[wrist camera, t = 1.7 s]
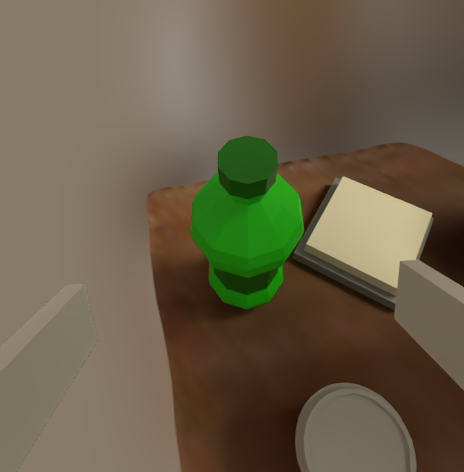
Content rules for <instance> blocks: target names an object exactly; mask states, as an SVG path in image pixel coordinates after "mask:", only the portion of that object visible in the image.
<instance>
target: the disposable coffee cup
mask: <svg viewBox="0 0 464 472" xmlns="http://www.w3.org/2000/svg"><path fill="white" fill-rule="evenodd" d="M295 448H296V455H297V461H298V464H299V467H300V470H301V472H416V455H415V450H414V446H413V442H412V439H411V437H410V435H409V433H408V430H407V428H406V426H405V424H404V423H403V421H402V419H401V417H400V416H399V414H398V413H397V412H396V411H395V409H394V408H393V407H392V406H391V405H390V404H389V403H388V402H387V401H386V400H385V399H384V398H383V397H382V396H380V395H379V394H377V393H375V392H374V391H372V390H371V389H369V388H366V387H363V386H361V385H358V384H352V383H335V384H331V385H328V386H326V387H324V388H322V389H320V390H319V391H317V392H316V393H315V394H314V395H312V396H311V397H310V399H309V400H308V401H307V402H306V403H305V405H304V407H303V409H302V411H301V413H300V415H299V417H298V419H297V423H296V432H295Z"/></svg>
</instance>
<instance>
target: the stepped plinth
mask: <svg viewBox="0 0 464 472" xmlns="http://www.w3.org/2000/svg"><path fill="white" fill-rule="evenodd" d="M431 216H432V213H430V212H428V211H426V210H423V209H421V208H418V207H416V206H414V205H411V204H409V203H406V202H404V201H402V200H399V199H397V198H394V197H392V196H389V195H387V194H385V193H382V192H380V191H377V190H375V189H373V188H370V187H368V186H365V185H363V184H361V183H358V182H356V181H353V180H351V179H349V178H346V177H344V176H343V178H342V179H339V178H335V180H334V182H333V184H332V185H331V187H330V189H329V191H328V193H327V194H326V196H325V198H324V200H323V202H322V203H321V205H320V207H319V209H318V210H317V212H316V214H315V216H314V218H313V219H312V221H311V223H310V225H309V227H308V228H307V230H306V232H305V234H304V235H303V237H302V239H301V241H300V243H299V244H298V246H297V248H296V250H295V252H294V254H293V257H292V259H294V260H296V261H298V262H300V263H302V264H304V265H306V266H308V267H310V268H312V269H314V270H316V271H318V272H320V273H322V274H324V275H326V276H327V277H329V278H331V279H333V280H335V281H337V282H339V283H341V284H343V285H345V286H347V287H349V288H351V289H353V290H355V291H357V292H359V293H361V294H363V295H365V296H367V297H369V298H370V299H372V300H374V301H376V302H378V303H380V304H382V305H384V306H386V307H388V308H390V309H392V310H394V311H395V304H396V295H397V285H398V275H399V265H400V261H406V260H419V259H420V256H421V253H422V251H423V248H424V245H425V242H426V239H427V237H428V234H429V231H430V228H431V226H432V223H433V220H434V218H432V217H431Z"/></svg>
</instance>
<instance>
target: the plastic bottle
mask: <svg viewBox="0 0 464 472" xmlns="http://www.w3.org/2000/svg"><path fill="white" fill-rule="evenodd" d="M277 169H278V161H277V151H276V150H275V149H274V148H273V147H272V146H271V145H270V144H269V143H268V142H267V141H266V140H265V139H260V138H255V137H250V136H244V137H240V138H236V139H233V140H229V141H228V142H227V143H226V144H225V145H224V146H223V147H222V149H221V150H220V151H219V152H218V173H216V174H214V176H213V177H212V178H211V179H210V180H209V181H208V182H207V183H206V184H205V185H204V186H203V187H202V189H201V190H200V191H199V192H198V193H197V194H196V195H195V197H194V199H193V202H192V216H191V231H190V233H191V236H192V239H193V241H194V242H195V243H196V245H197V246H198V247H199V249H200V250H201V251H202V253H203V254H204V255H205V257H206V258H207V259H208V260H209V283H210V285H211V286H212V288H213V289H214V290H215V292H216V293H217V295H218V296H219V297H220V299H221V300H222V301H223V303H227V304H230V305H233V306H237V307H240V308H243V309H246V310H247V309H250V308H253V307H256V306H259V305H262V304H265V303H267V302H270V300H271V299H272V297H273V296H274V294H275V293H276V291H277V290H278V288H279V287H280V285H281V284H282V282H283V269H282V265H283V264H284V262H285V261H286V260H287V258H288V257H289V255H290V254H291V252H292V251H293V249H294V248H295V246H296V245H297V244H298V242H299V241H300V239H301V238H302V235H303V233H304V225H303V217H302V209H301V202H300V198H299V195H298V193H297V192H296V191H295V190H294V189H293V188H292V187H291V186H290V185H289V184H288V183H287V182H286V181H285V180H284V179H283V178H282V177H281V176H279V175H278V174H277Z"/></svg>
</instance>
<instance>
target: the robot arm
mask: <svg viewBox="0 0 464 472" xmlns="http://www.w3.org/2000/svg"><path fill="white" fill-rule="evenodd" d="M394 319H395V320H396V321H397V322H398V323H399V324H400V325H401V326H402V327H403V328H404V329H405V330H406V331H407V332H408V334H409V335H410V336H411V337H412V338H413V339H414V340H415V341H416V342H417V343H418V344H419V345H420V346H421V347H422V348H423V349H424V350H425V351H426V352H427V353H428V354H429V355H430V356H431V357H432V358H433V359H434V360H435V361H436V362H437V363H438V364H439V365H440V367H441V368H442V369H443V370H444V371H445V372H446V373H447V374H448V375H449V376H450V377H451V378H452V379H453V380H454V381H455V382H456V383H457V384H458V385H459V386H460V387H461V388H462V389H463V390H464V287H463V286H461V285H459V284H458V283H456V282H454V281H453V280H451V279H449V278H448V277H446V276H444V275H443V274H441V273H439V272H438V271H436V270H434V269H433V268H431V267H429V266H428V265H426V264H425V263H423V262H421V261H420V260H406V261H400V265H399V275H398V285H397V295H396V304H395V314H394ZM97 341H98V338H97V333H96V330H95V324H94V320H93V315H92V311H91V307H90V302H89V298H88V293H87V289H86V284H71V285H66V286H65V287H64V288H63V289H62V290H61V291H60V292H58V293H57V294H56V295H55V296H54V297H53V298H52V299H51V300H50V301H49V302H48V303H47V304H46V305H44V306H43V307H42V308H41V309H40V310H39V311H38V312H37V313H36V314H35V315H34V316H33V317H32V318H31V319H29V320H28V321H27V322H26V323H25V324H24V325H23V326H22V327H21V328H20V329H19V330H17V332H15V333H14V334H13V335H12V336H11V337H10V338H9V339H8V340H7V341H6V342H5V343H4V344H2V345H1V346H0V472H17V470H18V469H19V467H20V465H21V464H22V462H23V461H24V459H25V457H26V456H27V454H28V453H29V451H30V449H31V447H32V446H33V445H34V443H35V441H36V440H37V438H38V436H39V435H40V433H41V432H42V430H43V428H44V427H45V425H46V424H47V422H48V420H49V419H50V417H51V415H52V414H53V412H54V411H55V409H56V407H57V406H58V404H59V403H60V401H61V399H62V398H63V396H64V395H65V393H66V391H67V390H68V388H69V386H70V385H71V383H72V382H73V380H74V378H75V377H76V375H77V374H78V372H79V370H80V369H81V367H82V366H83V364H84V362H85V361H86V359H87V357H88V356H89V354H90V353H91V351H92V349H93V348H94V346H95V345H96V343H97Z"/></svg>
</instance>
